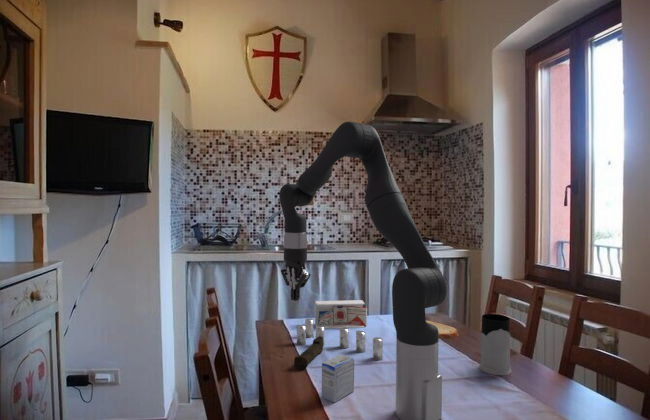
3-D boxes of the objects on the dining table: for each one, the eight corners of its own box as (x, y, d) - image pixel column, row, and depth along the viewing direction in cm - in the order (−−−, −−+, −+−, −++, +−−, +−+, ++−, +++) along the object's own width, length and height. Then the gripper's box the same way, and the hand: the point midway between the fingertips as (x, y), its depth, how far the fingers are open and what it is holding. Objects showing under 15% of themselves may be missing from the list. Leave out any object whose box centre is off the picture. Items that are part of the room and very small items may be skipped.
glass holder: (485, 375, 114) (485, 321, 114) (468, 356, 129) (469, 308, 129) (516, 375, 114) (517, 321, 114) (497, 356, 128) (497, 308, 128)
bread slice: (463, 338, 147) (463, 328, 147) (416, 341, 143) (416, 331, 143) (438, 324, 165) (438, 314, 165) (396, 326, 161) (396, 317, 161)
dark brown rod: (306, 371, 117) (306, 355, 117) (293, 369, 118) (293, 353, 118) (330, 350, 134) (330, 336, 134) (318, 348, 136) (319, 334, 136)
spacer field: (386, 357, 127) (386, 338, 127) (358, 368, 118) (358, 348, 118) (315, 332, 151) (316, 316, 151) (287, 340, 142) (287, 323, 142)
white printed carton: (316, 328, 156) (316, 304, 156) (315, 324, 162) (315, 300, 162) (367, 327, 158) (368, 303, 158) (365, 323, 164) (365, 300, 164)
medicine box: (340, 386, 106) (340, 353, 106) (354, 392, 104) (354, 357, 104) (320, 397, 100) (321, 362, 100) (335, 403, 98) (335, 367, 97)
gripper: (317, 247, 129) (317, 302, 130) (291, 244, 139) (291, 295, 139) (299, 248, 124) (299, 305, 125) (273, 245, 134) (273, 298, 134)
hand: (295, 300), depth 132 cm, fingers closed
